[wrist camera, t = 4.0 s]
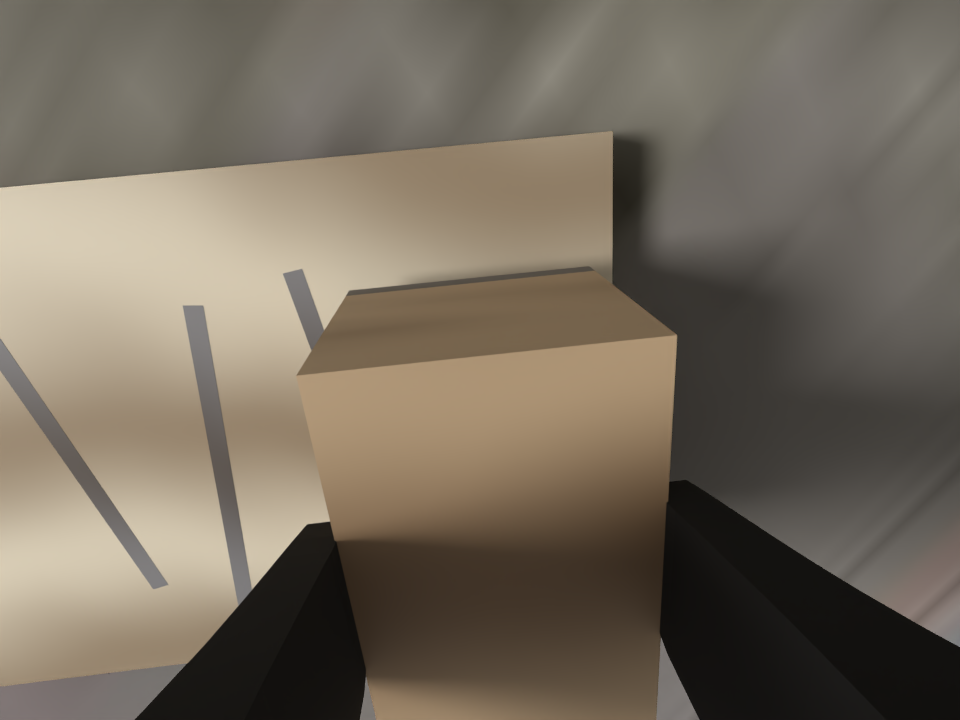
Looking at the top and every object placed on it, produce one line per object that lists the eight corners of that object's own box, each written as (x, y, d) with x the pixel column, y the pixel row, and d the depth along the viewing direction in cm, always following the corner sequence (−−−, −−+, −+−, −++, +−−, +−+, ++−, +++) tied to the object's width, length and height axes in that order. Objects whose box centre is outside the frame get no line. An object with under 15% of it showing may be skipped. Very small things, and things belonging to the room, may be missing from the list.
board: (599, 577, 16) (611, 610, 15) (-35, 655, 15) (-73, 695, 14) (595, 133, 11) (613, 131, 10) (-297, 215, 11) (-383, 223, 10)
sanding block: (591, 558, 13) (655, 729, 9) (402, 581, 13) (387, 764, 9) (589, 265, 10) (677, 335, 6) (349, 290, 10) (296, 375, 6)
